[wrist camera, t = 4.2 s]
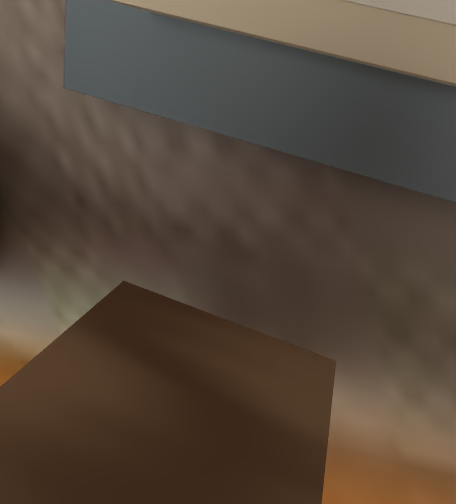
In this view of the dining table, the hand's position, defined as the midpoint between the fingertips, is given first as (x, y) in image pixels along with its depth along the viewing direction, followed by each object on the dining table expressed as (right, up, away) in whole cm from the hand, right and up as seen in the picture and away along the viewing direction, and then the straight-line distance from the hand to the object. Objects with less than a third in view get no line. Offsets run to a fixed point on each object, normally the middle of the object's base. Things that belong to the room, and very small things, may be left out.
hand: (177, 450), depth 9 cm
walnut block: (+1, +1, +1) cm, 2 cm away
